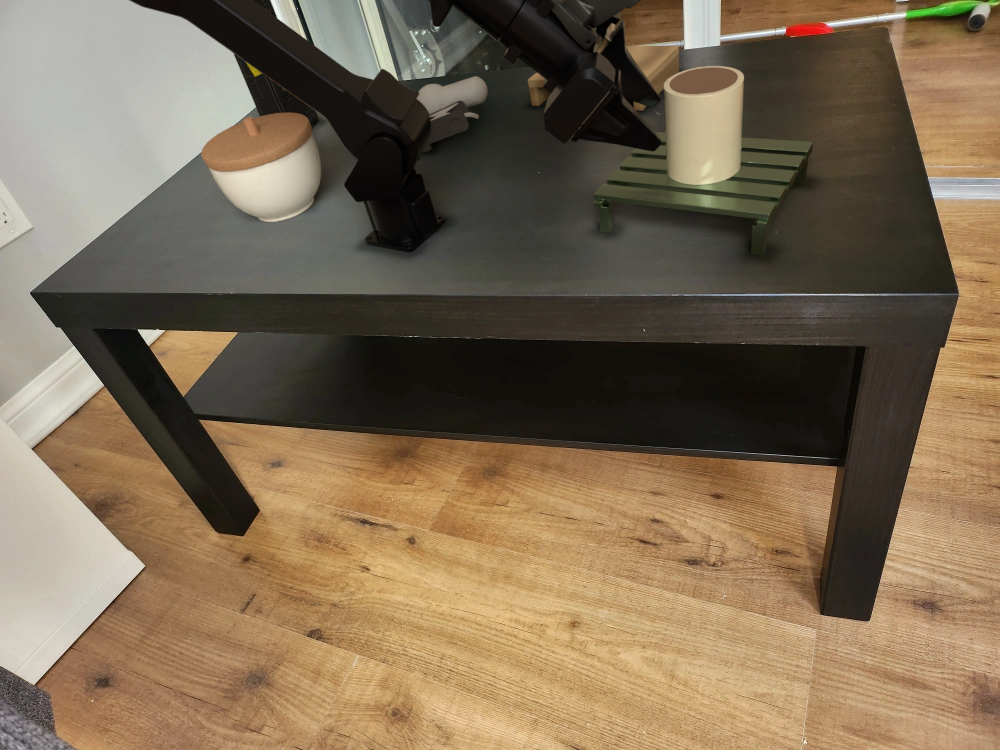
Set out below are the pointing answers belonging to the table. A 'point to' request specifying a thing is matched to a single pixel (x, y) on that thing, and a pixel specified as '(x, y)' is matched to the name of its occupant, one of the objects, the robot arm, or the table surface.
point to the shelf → (650, 60)
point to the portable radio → (272, 88)
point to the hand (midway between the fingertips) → (658, 123)
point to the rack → (711, 185)
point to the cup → (704, 124)
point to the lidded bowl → (267, 165)
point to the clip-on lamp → (451, 106)
